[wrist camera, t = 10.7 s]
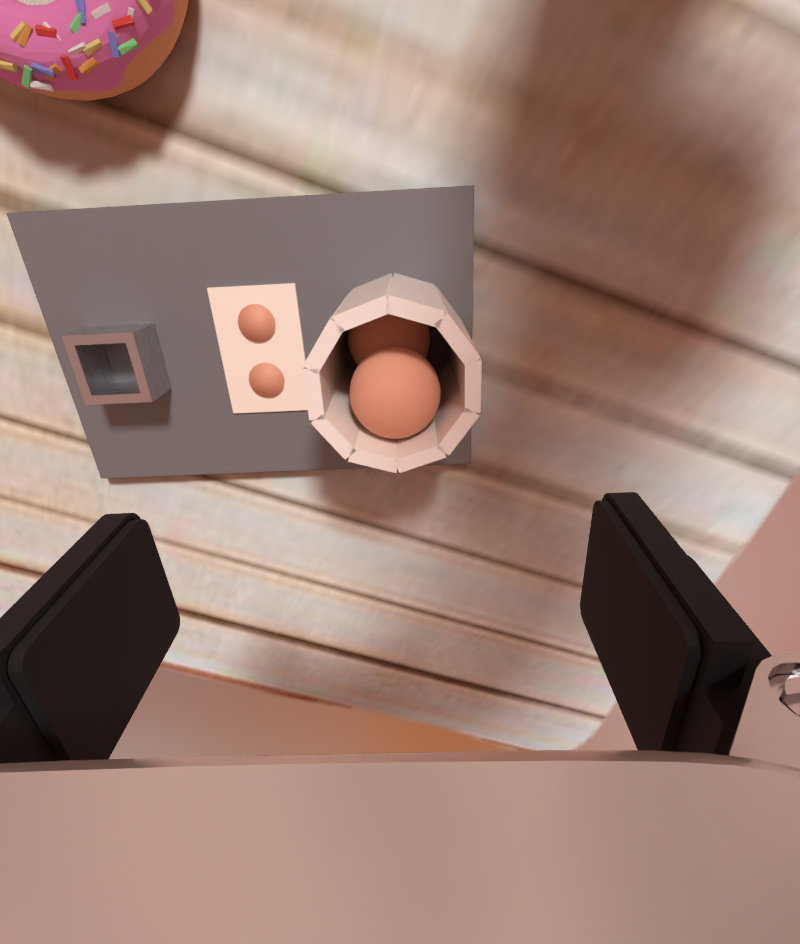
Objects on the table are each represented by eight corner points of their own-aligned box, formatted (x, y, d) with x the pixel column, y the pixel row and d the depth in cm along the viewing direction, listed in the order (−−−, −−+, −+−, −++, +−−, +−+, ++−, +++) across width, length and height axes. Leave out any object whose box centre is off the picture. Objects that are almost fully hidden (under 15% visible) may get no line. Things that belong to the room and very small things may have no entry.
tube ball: (433, 304, 33) (424, 283, 28) (434, 382, 33) (425, 375, 28) (358, 308, 34) (337, 288, 29) (360, 384, 34) (339, 378, 29)
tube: (461, 269, 32) (483, 290, 23) (461, 406, 36) (479, 470, 27) (324, 276, 32) (292, 300, 23) (339, 411, 36) (317, 476, 27)
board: (471, 186, 31) (474, 185, 29) (468, 456, 39) (471, 465, 37) (20, 213, 31) (2, 213, 30) (109, 471, 40) (98, 480, 38)
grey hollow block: (154, 323, 33) (132, 332, 31) (171, 387, 35) (152, 401, 33) (89, 326, 33) (61, 336, 31) (109, 390, 35) (85, 404, 33)
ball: (432, 326, 25) (459, 422, 26) (420, 346, 30) (443, 426, 31) (336, 352, 25) (364, 449, 25) (339, 368, 30) (363, 449, 30)
